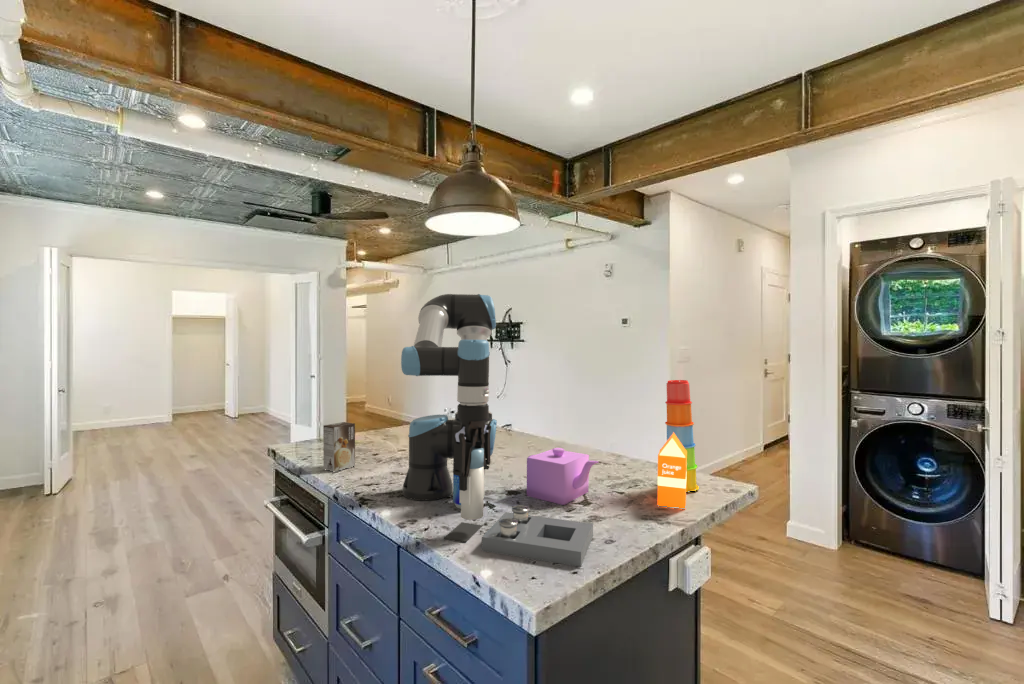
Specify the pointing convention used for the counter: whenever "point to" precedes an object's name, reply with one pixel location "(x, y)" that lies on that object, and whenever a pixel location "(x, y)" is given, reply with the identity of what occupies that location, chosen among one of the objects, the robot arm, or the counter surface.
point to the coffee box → (339, 446)
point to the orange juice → (672, 474)
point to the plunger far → (520, 513)
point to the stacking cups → (682, 425)
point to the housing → (542, 540)
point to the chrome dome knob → (508, 528)
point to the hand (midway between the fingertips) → (472, 499)
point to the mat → (463, 532)
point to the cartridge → (475, 486)
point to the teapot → (558, 475)
